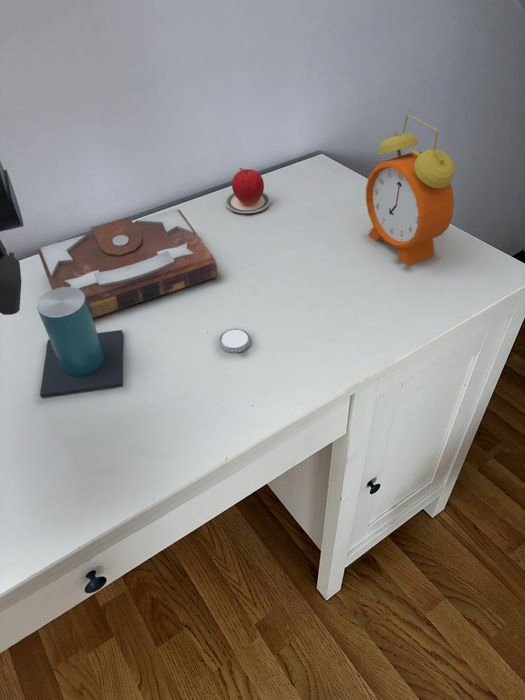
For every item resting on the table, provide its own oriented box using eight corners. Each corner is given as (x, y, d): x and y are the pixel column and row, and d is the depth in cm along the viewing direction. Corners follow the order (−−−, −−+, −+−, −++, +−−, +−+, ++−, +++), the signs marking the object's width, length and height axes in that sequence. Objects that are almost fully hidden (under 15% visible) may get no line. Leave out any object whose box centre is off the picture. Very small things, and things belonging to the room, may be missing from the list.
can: (59, 379, 71) (34, 320, 64) (62, 348, 75) (39, 289, 68) (103, 372, 72) (84, 313, 65) (105, 342, 76) (86, 283, 69)
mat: (41, 397, 70) (39, 394, 70) (48, 342, 77) (47, 339, 77) (122, 386, 71) (121, 383, 71) (122, 332, 78) (122, 329, 78)
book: (69, 333, 79) (60, 307, 76) (43, 267, 88) (33, 242, 84) (218, 282, 86) (216, 257, 83) (180, 226, 95) (177, 201, 92)
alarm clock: (359, 231, 94) (372, 110, 80) (388, 220, 96) (406, 101, 82) (412, 273, 86) (437, 146, 71) (442, 260, 88) (473, 134, 73)
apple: (221, 195, 103) (218, 162, 99) (264, 189, 105) (263, 156, 100) (230, 218, 98) (227, 184, 93) (275, 211, 99) (274, 177, 94)
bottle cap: (250, 351, 75) (250, 347, 74) (220, 353, 74) (220, 350, 74) (248, 330, 77) (248, 327, 77) (219, 333, 77) (219, 329, 77)
